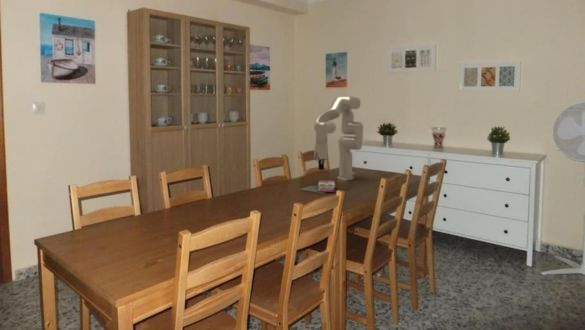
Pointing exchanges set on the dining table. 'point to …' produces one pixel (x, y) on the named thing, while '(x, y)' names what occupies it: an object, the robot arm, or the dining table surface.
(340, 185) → the walnut block
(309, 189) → the slate mat
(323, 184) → the candy bar box
